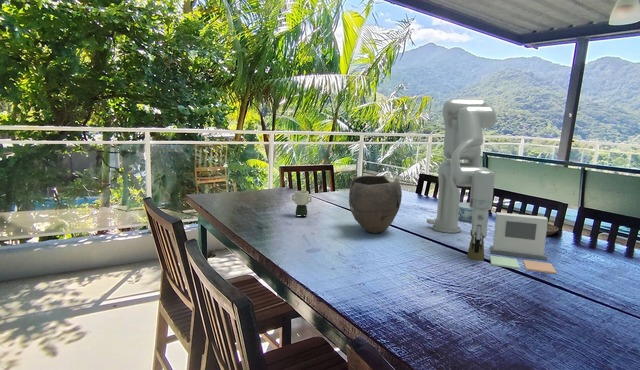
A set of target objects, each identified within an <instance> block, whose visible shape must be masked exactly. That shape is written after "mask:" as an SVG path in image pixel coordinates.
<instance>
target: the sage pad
mask: <svg viewBox="0 0 640 370" xmlns="http://www.w3.org/2000/svg"><path fill="white" fill-rule="evenodd" d="M489 260H490V265H491V266H495V267H503V268H508V269H515V270H516V269H517V270H520V269H521V266H520V264H519V261H518V259H517V258H511V257H503V256H496V255H489Z"/></svg>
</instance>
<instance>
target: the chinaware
mask: <svg viewBox="0 0 640 370" xmlns="http://www.w3.org/2000/svg"><path fill="white" fill-rule="evenodd" d="M469 205H470V202H466V201H465V202H464V201H463V202H462V201H460V204H459V217H460V218H461V220H462V221H464V222H465V221H466V222H472V211H473V208H470V207H469Z"/></svg>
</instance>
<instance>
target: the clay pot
mask: <svg viewBox="0 0 640 370" xmlns="http://www.w3.org/2000/svg"><path fill="white" fill-rule="evenodd" d="M402 193H403V192H402V186H401V182H400V180H399V179H398V177H396V178H395V179H394V180H393V181H391V180H389V179H388V178H387V177H386V176H385V175H360V176H355V177H354V178H353V179H352V181H351V183H350V186H349V192H348V205H349V209H350V210H349V211H350V212H351V214H352V216H353V218H354V220H355V221H356V223H358V225H359V226H360V227H361V228H362V229H364V230H365V231H366V232H368V233H373V234H378V233H382V232H384V231H386V230H387V229H388V228H389V227H390V226H391V225H392V223H393V222H394V220H395V218H396V216H397V215H398V212H399V209H400V207H401V202H402V195H403V194H402Z"/></svg>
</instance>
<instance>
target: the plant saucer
mask: <svg viewBox="0 0 640 370" xmlns="http://www.w3.org/2000/svg"><path fill="white" fill-rule="evenodd" d="M558 230H559V227H558V226H556V225H553V224H551V223H549V222H548V223H547V231H546V237H547V236H548V237H549V236H552V235H554V234H555V233H557V232H558Z"/></svg>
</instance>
